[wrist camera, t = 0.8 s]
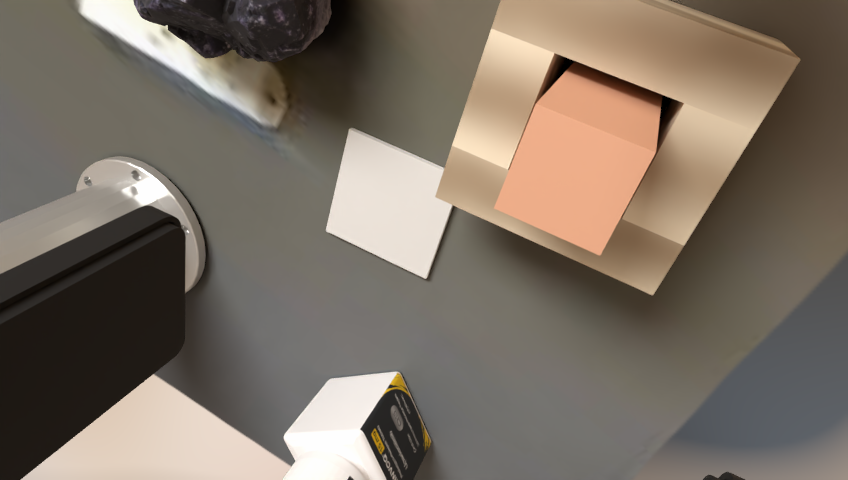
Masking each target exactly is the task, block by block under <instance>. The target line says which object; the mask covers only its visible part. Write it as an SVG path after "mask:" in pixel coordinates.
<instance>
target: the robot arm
mask: <svg viewBox="0 0 848 480" xmlns="http://www.w3.org/2000/svg"><path fill="white" fill-rule="evenodd" d="M205 257H206V254H205V242H204V238H203V235H202V231H201V227H200V225H199V223H198V220H197V218H196V215H195V213H194V212H193V210H192V208H191V206H190V205H189V203H188V201H187V200H186V199H185V197H184V196H183V195H182V193H181V192H180V191H179V190H178V188H177V187H176V186H175V185H174V184H173V183H172V182H171V181H170V180H169V179H168V178H167V177H165V176H164V175H163V174H161V173H160V172H159V171H157V170H156V169H155V168H153V167H151V166H149V165H147V164H146V163H144V162H142V161H139V160H136V159H133V158H130V157H121V156H116V157H110V158H106V159H103V160H101V161H98V162H95V163H94V164H92V165H91V166H89V167H88V168H87V169H86V170H85V171H84V172H83V173H82V175H81V177H80V179H79V182H78V184H77V189H76V192H75V193H73V194H70V195H68V196H65V197H63V198H60V199H58V200H56V201H53V202H51V203H48V204H46V205H43V206H41V207H38V208H36V209H33V210H31V211H28V212H26V213H23V214H21V215H18V216H16V217H14V218H11V219H9V220H6V221H4V222H1V223H0V480H20V479H22V478H23V477H24V476H25V475H27V474H28V473H29V472H31V471H32V470H33V469H34V468H36V467H37V466H38V465H39V464H41V463H42V462H43V461H44V460H45V459H47V458H48V457H49V456H51V455H52V454H53V453H54V452H56V451H57V450H58V449H59V448H61V447H62V446H63V445H64V444H66V443H67V442H68V441H70V440H71V439H72V438H73V437H75V436H76V435H77V434H78V433H80V432H81V431H82V430H83V429H85V428H86V427H87V426H88V425H90V424H91V423H92V422H93V421H95V420H96V419H97V418H98V417H100V416H101V415H102V414H103V413H105V412H106V411H107V410H109V409H110V408H111V407H112V406H113V405H115V404H116V403H117V402H119V401H120V400H121V399H122V398H123V397H125V396H126V395H127V394H129V393H130V392H131V391H132V390H134V389H135V388H136V387H137V386H139V385H140V384H141V383H142V382H144V381H145V380H146V379H147V378H149V377H150V376H151V375H153V374H154V373H155V372H156V371H158V370H159V369H160V368H161V367H163V366H164V365H165V364H166V363H168V362H169V361H170V360H171V359H173V358H174V357H175V356H176V355H177V354H178V353H179V351H180V350H181V348H182V346H183V344H184V340H185V293H186V292H187V291H189V290H190V289H191V288H193V287H194V286H195V285H196V284H197V282H198V281H199V279H200V278H201V276H202V273H203V270H204V266H205ZM703 480H745V479H742V478H740V477H738V476H736V475H734V474H732V473H729V472H726V473H724V474H722V475H721V476H720V477H719V478H716V477H714V476H712V475H708V476H706V477H705V478H704V479H703Z"/></svg>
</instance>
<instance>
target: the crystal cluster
mask: <svg viewBox="0 0 848 480" xmlns="http://www.w3.org/2000/svg"><path fill="white" fill-rule="evenodd" d="M330 3H331V0H134V5H135V7H136V9H137V11H138V13H139V14H140V16H141V17H142V18H143V19H145V20H147V21H149V22H153V23H156V24H160V25H163V26H166V25H168V30H169V31H170V32H171V33H173V34H174V35H175V36H177V37H178V38H180V39H182V40H183V41H185V42H186V43H187V44H189V45H190V46H191V47H192V48H193V49H194V50H195V51H196V52H198V53H199V54H200V55H201V56H203V57H204V58H214V57H218V56H221V55H224V54H226V53H228V52H229V51H230V50H232V49H233V50H236V52H237V53H238V54H239V55H241V56H242V57H243V58H247V59H249V58H254V59H255V60H257V61H269V62H277V61H280V60H283V59H284V58H287V57H289V56H292V55H295V54H298V53H301V52H302V51H303V50H305V49H306V48H307V46H308V45H309V44H310V43H311V42H312V41H313V39H316V38H317V37H318V36H319V35H320V34H321V33H323V31H324V28H325V26H326V25H327V24H328V22H329V19H330V17H331V7H330Z"/></svg>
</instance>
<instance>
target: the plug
mask: <svg viewBox="0 0 848 480" xmlns="http://www.w3.org/2000/svg"><path fill="white" fill-rule="evenodd" d="M661 103H662V94H659V93H657V92H654V91H651V90H649V89H646V88H644V87H641V86H638V85H636V84H633V83H631V82H628V81H626V80H623V79H620V78H618V77H615V76H613V75H610V74H607V73H605V72H602V71H600V70H597V69H595V68H592V67H589V66H587V65H584V64H582V63H579V62H576V61H575V62H574V63H573V64H572V65H571V66H570V67H569V68H568V69H567V70H566V71H565V72H564V74H563V75H562V76H561V77H560V78H559V79H558V80H557V81H556V82H555V83H554V84H553V85H552V87H551V88H550V89H549V90H548V91H547V92H546V93H545V94H544V95H543V96H542V97H541V99H540V100H539V101H538V102H537V103H536V104H535V107H534V109H533V112H532V114H531V117H530V119H529V122H528V124H527V127H526V129H525V132H524V134H523V137H522V139H521V142H520V144H519V147H518V149H517V152H516V154H515V157H514V159H513V162H512V164H511V167H510V169H509V172H508V174H507V177H506V179H505V182H504V184H503V187H502V189H501V192H500V194H499V196H498V199H497V201H496V204H495V206H494V209H496V210H499V211H501V212H503V213H505V214H508V215H510V216H512V217H514V218H517V219H519V220H521V221H523V222H526V223H528V224H530V225H532V226H534V227H537V228H539V229H541V230H543V231H546V232H548V233H550V234H552V235H555V236H557V237H559V238H561V239H564V240H566V241H568V242H570V243H573V244H575V245H577V246H579V247H581V248H584V249H586V250H588V251H590V252H593V253H595V254H597V255H599V256H600V255H601V253H602V251H603V250H604V248H605V246H606V244H607V242H608V240H609V238H610V237H611V235H612V233H613V231H614V229H615V227H616V225H617V224H618V222H619V220H620V218H621V216H622V214H623V213H624V211H625V209H626V207H627V205H628V203H629V201H630V200H631V198H632V196H633V194H634V192H635V190H636V189H637V187H638V185H639V183H640V181H641V179H642V177H643V176H644V174H645V172H646V170H647V168H648V166H649V164H650V163H651V161H652V159H653V157H654V155H655V153H656V148H657V139H658V130H659V121H660V112H661Z"/></svg>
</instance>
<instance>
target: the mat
mask: <svg viewBox="0 0 848 480" xmlns="http://www.w3.org/2000/svg"><path fill="white" fill-rule="evenodd" d="M443 171H444V168H443V167H441V166H438V165H436V164H434V163H432V162H429V161H427V160H425V159H423V158H420V157H418V156H416V155H413V154H411V153H409V152H407V151H404V150H402V149H400V148H398V147H395V146H393V145H391V144H388V143H386V142H384V141H382V140H379V139H377V138H375V137H373V136H370V135H368V134H366V133H364V132H361V131H359V130H357V129H354V128H350V129H349V132H348V136H347V141H346V145H345V149H344V154H343V158H342V163H341V167H340V171H339V176H338V180H337V184H336V189H335V193H334V197H333V202H332V206H331V210H330V215H329V219H328V223H327V228H326V231H327V232H329V233H331V234H333V235H335V236H337V237H339V238H342V239H344V240H346V241H348V242H350V243H352V244H354V245H356V246H358V247H360V248H362V249H364V250H366V251H369V252H371V253H373V254H375V255H377V256H379V257H381V258H383V259H385V260H387V261H389V262H391V263H393V264H396V265H398V266H400V267H402V268H404V269H406V270H408V271H410V272H412V273H414V274H416V275H418V276H420V277H423V278H425V279H426V278H427V277H428V275H429V272H430V269H431V267H432V264H433V261H434V258H435V255H436V253H437V250H438V247H439V244H440V241H441V239H442V236H443V233H444V230H445V227H446V225H447V222H448V219H449V216H450V214H451V211H452V208H453V205H451V204H449V203H447V202H445V201H443V200H440V199H438V198H436V197H435V195H436V192H437V189H438V186H439V183H440V180H441V177H442V174H443Z"/></svg>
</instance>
